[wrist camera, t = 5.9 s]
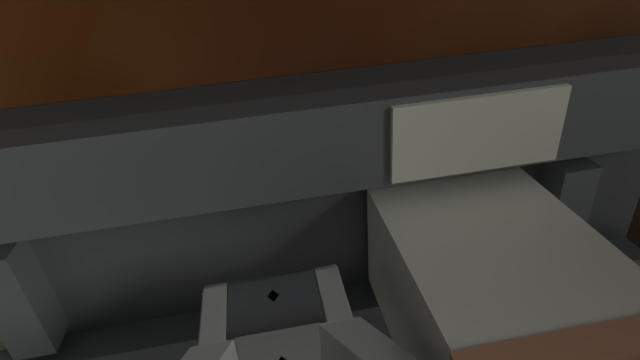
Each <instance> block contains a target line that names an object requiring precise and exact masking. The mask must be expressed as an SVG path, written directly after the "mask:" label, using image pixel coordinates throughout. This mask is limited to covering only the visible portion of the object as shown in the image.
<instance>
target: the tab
mask: <svg viewBox="0 0 640 360" xmlns="http://www.w3.org/2000/svg"><path fill="white" fill-rule="evenodd" d="M367 220H368V274H369V281H370V284H371V286H372V289H373V292H374V294H375V297H376V299H377V302H378V305H379V307H380V310H381V312H382V315H383V317H384V320H385V323H386V325H387V328H388V330H389V333H390V336H391V338H392V341H394V342H395V343H397V344H398V345H399V346H401V347H402V348H403V349H405V350H406V351H407V352H409V353H410V354H412V355H413V356H414V357H416V358H417V359H418V360H640V267H639V266H638V265H637V264H636V263H635V262H633V261H632V260H631V259H630V258H629V257H627V256H626V255H625V254H624V253H623V252H621V251H620V250H619V249H618V248H617V247H615V246H614V245H613V244H612V243H611V242H609V241H608V240H607V239H606V238H604V237H603V236H602V235H601V234H600V233H598V232H597V231H596V230H595V229H594V228H592V227H591V226H590V225H589V224H588V223H586V222H585V221H584V220H583V219H582V218H580V217H579V216H578V215H577V214H576V213H574V212H573V211H572V210H571V209H570V208H568V207H567V206H566V205H565V204H563V203H562V202H561V201H560V200H559V199H557V198H556V197H555V196H554V195H553V194H551V193H550V192H549V191H548V190H547V189H545V188H544V187H543V186H542V185H541V184H539V183H538V182H537V181H536V180H535V179H533V178H532V177H531V176H530V175H529V174H527V173H526V172H525V171H524V170H522V169H521V168H520V167H514V168H507V169H501V170H494V171H487V172H481V173H474V174H467V175H461V176H454V177H447V178H441V179H434V180H427V181H421V182H414V183H407V184H401V185H394V186H387V187H380V188H374V189H367Z"/></svg>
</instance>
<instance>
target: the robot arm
mask: <svg viewBox="0 0 640 360" xmlns="http://www.w3.org/2000/svg"><path fill="white" fill-rule="evenodd" d="M180 360H418V359H417V358H416V357H414V356H413V355H412V354H410V353H409V352H407V351H406V350H405V349H403V348H402V347H401V346H399V345H398V344H397V343H395V342H394V341H392V340H391V339H390V338H388V337H387V336H386V335H384V334H383V333H382V332H380V331H379V330H378V329H376V328H375V327H373V326H372V325H371V324H369V323H368V322H367V321H365V320H364V319H363V318H361V317H354V318H353V315H352V312H351V309H350V306H349V302H348V299H347V296H346V293H345V289H344V286H343V283H342V280H341V276H340V273H339V270H338V267H337V266H336V265H335V264H332V265H327V266H322V267H316V268H314V269H307V270H301V271H296V272H290V273H284V274H278V275H273V276H266V277H259V278H252V279H245V280H238V281H231V282H228V283H220V284H213V285H206V286H205V287H204V289H203V293H202V304H201V315H200V326H199V337H198V346H193V347H190V348H189V349H188V351H187V352H186V353H185V354H184V356H183V357H182V358H181V359H180Z"/></svg>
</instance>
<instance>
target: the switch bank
mask: <svg viewBox="0 0 640 360" xmlns="http://www.w3.org/2000/svg"><path fill="white" fill-rule="evenodd" d="M514 167H520V168H521V169H522V170H524V171H525V172H526V173H527V174H529V175H530V176H531V177H532V178H533V179H535V180H536V181H537V182H538V183H539V184H541V185H542V186H543V187H544V188H545V189H547V190H548V191H549V192H550V193H551V194H553V195H554V196H555V197H556V198H557V199H559V200H560V201H561V202H562V203H563V204H565V205H566V206H567V207H568V208H570V209H571V210H572V211H573V212H574V213H576V214H577V215H578V216H579V217H580V218H582V219H583V220H584V221H585V222H586V223H588V224H589V225H590V226H591V227H592V228H594V229H595V230H596V231H597V232H598V233H600V234H601V235H602V236H603V237H604V238H606V239H607V240H608V241H609V242H611V243H612V244H613V245H614V246H615V247H617V248H618V249H619V250H620V251H621V252H623V253H624V254H625V255H626V256H627V257H629V258H630V259H631V260H632V261H633V262H635V263H636V264H637V265H638V266H639V267H640V248H639V247H638V246H636V245H635V244H634V243H633V242H631V241H630V240H629V239H627V238H626V235H627V232H628V229H629V226H630V223H631V220H632V218H633V215H634V212H635V209H636V206H637V203H638V200H639V197H640V34H637V35H628V36H620V37H612V38H603V39H595V40H586V41H578V42H569V43H561V44H552V45H544V46H535V47H527V48H518V49H510V50H501V51H493V52H484V53H476V54H467V55H459V56H450V57H442V58H433V59H425V60H416V61H408V62H400V63H391V64H383V65H374V66H366V67H357V68H349V69H340V70H332V71H323V72H315V73H306V74H298V75H289V76H281V77H272V78H264V79H255V80H247V81H238V82H230V83H221V84H213V85H205V86H196V87H188V88H179V89H171V90H162V91H154V92H145V93H137V94H128V95H120V96H111V97H103V98H94V99H86V100H77V101H69V102H60V103H52V104H43V105H35V106H26V107H18V108H10V109H1V110H0V360H180V359H181V358H182V357H183V356H184V354H185V353H186V352H187V351H188V349H189V348H190V347H193V346H198V337H199V326H200V315H201V304H202V293H203V289H204V287H205V286H206V285H213V284H220V283H228V282H231V281H238V280H245V279H252V278H259V277H266V276H273V275H278V274H284V273H290V272H296V271H301V270H307V269H314V268H316V267H322V266H327V265H332V264H335V265H336V266H337V267H338V270H339V273H340V276H341V280H342V283H343V286H344V289H345V293H346V296H347V299H348V302H349V306H350V309H351V312H352V315H353V318H354V317H361V318H363V319H364V320H365V321H367V322H368V323H369V324H371V325H372V326H373V327H375V328H376V329H378V330H379V331H380V332H382V333H383V334H384V335H386V336H387V337H388V338H390V339H391V340H392V338H391V336H390V333H389V330H388V328H387V325H386V323H385V320H384V317H383V315H382V312H381V310H380V307H379V305H378V302H377V299H376V297H375V294H374V292H373V289H372V286H371V284H370V281H369V274H368V220H367V189H374V188H380V187H387V186H394V185H401V184H407V183H414V182H421V181H427V180H434V179H441V178H447V177H454V176H461V175H467V174H474V173H481V172H487V171H494V170H501V169H507V168H514Z"/></svg>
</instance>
